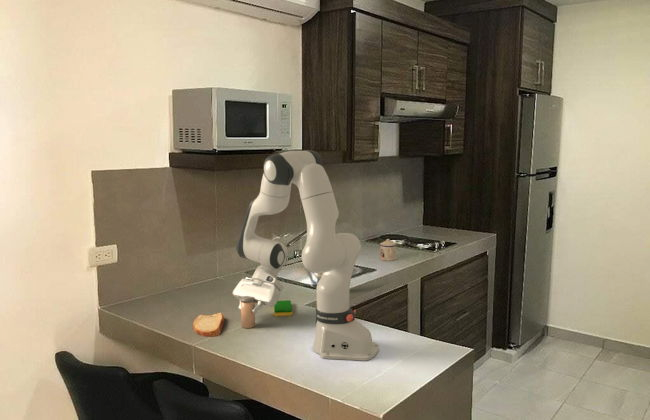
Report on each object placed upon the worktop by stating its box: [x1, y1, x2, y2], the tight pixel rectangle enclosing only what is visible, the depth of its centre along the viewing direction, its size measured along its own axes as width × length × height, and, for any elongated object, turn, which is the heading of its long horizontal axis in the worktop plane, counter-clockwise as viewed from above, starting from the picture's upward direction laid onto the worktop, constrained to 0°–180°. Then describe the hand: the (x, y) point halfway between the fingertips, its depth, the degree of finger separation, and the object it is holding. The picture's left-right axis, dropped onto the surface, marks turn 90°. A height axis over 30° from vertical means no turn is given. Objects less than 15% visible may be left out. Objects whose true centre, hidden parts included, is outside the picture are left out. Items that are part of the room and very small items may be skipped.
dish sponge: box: [273, 299, 293, 317], centre depth 230 cm, size 7×14×2 cm, turn 6°
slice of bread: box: [192, 312, 225, 338], centre depth 212 cm, size 18×18×4 cm
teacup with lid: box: [379, 238, 397, 262], centre depth 313 cm, size 12×9×12 cm
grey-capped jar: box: [239, 296, 256, 329], centre depth 211 cm, size 5×5×11 cm
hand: (246, 311), depth 210 cm, fingers closed on grey-capped jar, 5 cm apart
